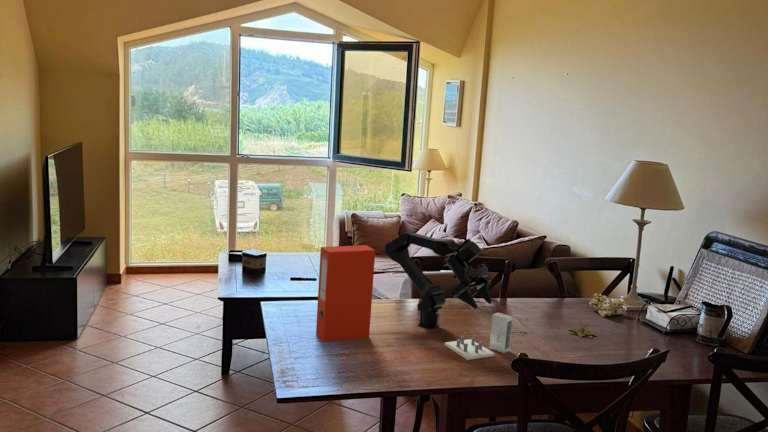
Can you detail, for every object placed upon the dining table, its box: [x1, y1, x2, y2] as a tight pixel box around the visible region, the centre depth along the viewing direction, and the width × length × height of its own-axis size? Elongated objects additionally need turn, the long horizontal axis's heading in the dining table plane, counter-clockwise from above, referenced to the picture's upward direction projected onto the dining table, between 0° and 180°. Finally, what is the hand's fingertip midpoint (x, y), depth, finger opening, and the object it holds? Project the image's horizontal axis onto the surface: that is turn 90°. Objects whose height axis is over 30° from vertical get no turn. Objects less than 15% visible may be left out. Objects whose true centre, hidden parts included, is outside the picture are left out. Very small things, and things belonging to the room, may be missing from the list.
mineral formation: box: [588, 293, 627, 318], centre depth 286 cm, size 8×13×15 cm
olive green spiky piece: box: [568, 322, 598, 339], centre depth 257 cm, size 12×12×5 cm
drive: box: [488, 312, 514, 354], centre depth 233 cm, size 6×4×12 cm, turn 49°
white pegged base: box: [444, 335, 495, 361], centre depth 231 cm, size 14×11×4 cm
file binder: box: [315, 244, 376, 343], centre depth 234 cm, size 8×17×32 cm, turn 116°
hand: (483, 305), depth 237 cm, fingers open, 9 cm apart
